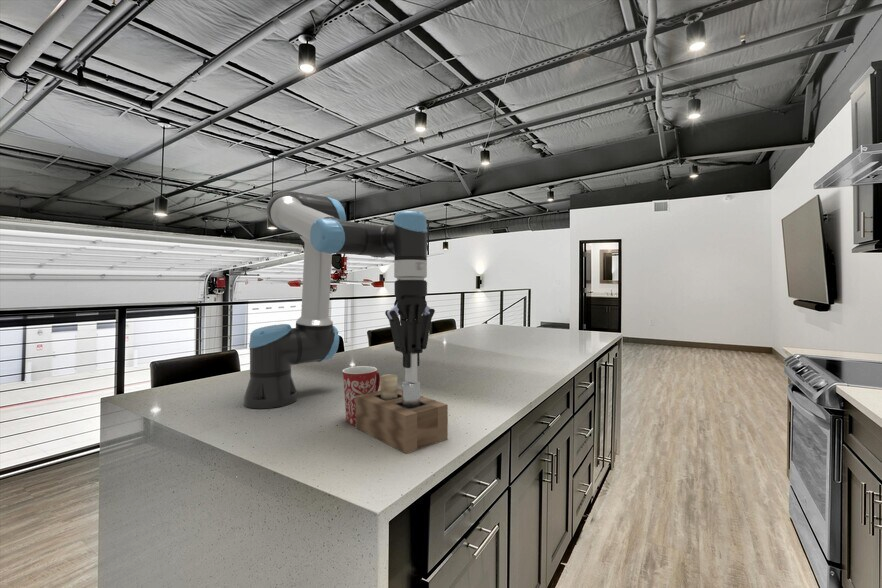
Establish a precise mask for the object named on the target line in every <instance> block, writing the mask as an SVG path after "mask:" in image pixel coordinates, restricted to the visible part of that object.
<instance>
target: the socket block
mask: <svg viewBox="0 0 882 588" xmlns="http://www.w3.org/2000/svg"><path fill="white" fill-rule="evenodd" d="M397 390H398V398H394V399H389V400H385V399H382V398H381V390H378V391H376V392H371V393H366V394H361V395H356V424H355V428H356V429H358V430H359V431H361V432H363V433H366V435H367V434H368V435H369V436H372V437H373V438H375V439H377V440H379V441H381V442H382V443H384V444H386V445H389V446H390V447H392V448H394V449H396V450H398V451H400V452H401V453H404V454H410V453H412V452H415V451H417V450H421V449H423V448H426V447H429V446H432V445H435V444H437V443H441V442H443V441H446V440H448V439H449V437H448V434H449V432H448V431H449V430H448V428H449V426H448V417H449V416H448V413H449V412H448V411H449V409H448V406H449V405H448V403H443V402H441V401H437V400H434V399H432V398H429V397H425V396H423V395H420V406H417V407H414V408H410V409H409V408H406V407H403V406H402V388H398V387H397Z"/></svg>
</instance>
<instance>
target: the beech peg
mask: <svg viewBox="0 0 882 588" xmlns="http://www.w3.org/2000/svg"><path fill="white" fill-rule="evenodd" d="M379 376H380V391H381V398H382V399H385V400H389V399H394V398H398V390H397V388H398V375H397V374H392V373H391V374H388V373H386V374H381V375H379Z"/></svg>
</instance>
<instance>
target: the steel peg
mask: <svg viewBox="0 0 882 588" xmlns="http://www.w3.org/2000/svg"><path fill="white" fill-rule="evenodd" d="M401 390H402V406H403V407H406V408H409V409H410V408H414V407H417V406H420V396H421V382H420V381H419V380H417V382H413V383H412V382H408V381H405V380H404V381H401Z"/></svg>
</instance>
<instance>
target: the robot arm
mask: <svg viewBox="0 0 882 588" xmlns="http://www.w3.org/2000/svg"><path fill="white" fill-rule="evenodd" d="M266 205H267V206H266V215H267V218H268V219H269V222H271V224H272V225H273V226H275V227H277V228H279V229H280V230H284V231H293V232H294V233H296V234H298V235H299V238H300V239H301V240H302V241H303V243H304V245H303V246H304V247H303V252H304V253H303V270H302V271H303V273H302V288H301V289H302V292H301V293H302V294H301V312H300V313H301V314H300V317H299V318H297V320H295V327H294V328H293V327H292V326H291V325H290V324H289V323H288V324H287V323H281V324H280V323H279V324H272V325H266V326H263V327H262V326H261V327H258V328H255V329H254V330H252V331H251V333H250V335H249V343H248V344H249V345H248V347H249V381H248V384H247V387H246V390H245V392H244V395H243V407H246V408H249V409H256V410H257V409H272V408H273V409H274V408H278V407H284V406H287V405H291V404H293V403H295V402H296V401H298V390H297V388H296V385H295V382H294V380H293V377H292V366H294V365H295V366H296V365H300V364H301V365H302V364H309V363H321V362H323V361H328V360H331V359H332V358H333V357H335V355H336V354H337V352H338V349H339V346H340V345H339V344H340V335H339V331H338V328H337V327H336V326H334V321H333V320H332V319H331V318H330V316H329V313H330V293H331V275H332V260H333V259H332V257H333V254H342V255H356V256H357V255H358V256H369V257H372V258H376V259H377V258H381V259H383V258H386V257H387V258H389V257H394V259H393V260H394V261H393V262H394V263H393V264H394V265H393V266H394V267H393V269H394V271H393V272H394V273H393V274H394V276H393V277H394V278H395V279H396V280H395V281H394V285H393V286H394V296H395V301H394V303H393V307H392V308H390V309H387V310H385V312H384V314H385V316H386V317H387V320H388V321H389V322H388V323H389V326H390V330H391V335H392V341H393V345H394V350H395V351H396V352H399V353H401V354H402V366H403V368H404V372H405V373H404V375H405V376H404V381H408V382H412V383H413V382H417V381H418V367H419V366H420V354H422V353H423V350H426V349H427V347H428V341H429V335H430V329H431V323H432V319H433V316H434V314H435V312H436V310H435V308H431V307H429V306H428V302H427V299H426V297H427V295H428V281H427V280H425V279H426V278H428V267H427V266H428V260H427V259H428V225H427V223H428V222H427V216H426V214H424V212H421V211H415V210H401V211H398V212H396V213H395V214H394V218H393V224H389V225H379V224H378V225H377V224H369V223H364V222H363V223H362V222H354V221H347V216H346V212H345V211H346V210H345V208H344V206H343V204H342V203H341V202H340V201H339V200H337V199H336V198H333V197H328V196H326V195H325V196H324V195H316V194H309V193H303V192H299V191H283V192H279V193H277V194H275V195H274V196H272V197H271V198H270V199H269V201H268V203H267V204H266Z"/></svg>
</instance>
